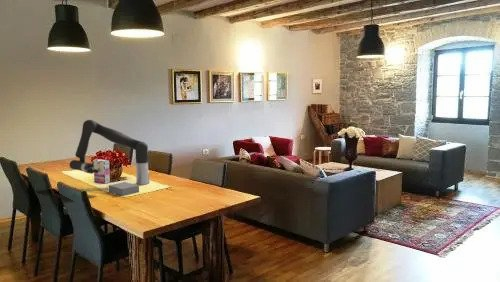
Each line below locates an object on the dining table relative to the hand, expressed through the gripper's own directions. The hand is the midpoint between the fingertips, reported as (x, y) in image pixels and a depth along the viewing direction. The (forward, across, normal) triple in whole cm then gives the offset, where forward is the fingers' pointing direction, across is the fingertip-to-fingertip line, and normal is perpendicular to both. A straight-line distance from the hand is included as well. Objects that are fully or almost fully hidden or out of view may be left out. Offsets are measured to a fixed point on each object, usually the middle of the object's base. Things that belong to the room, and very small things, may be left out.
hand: (101, 170), depth 277 cm
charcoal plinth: (+7, +13, +17) cm, 22 cm away
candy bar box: (0, 0, +9) cm, 9 cm away
